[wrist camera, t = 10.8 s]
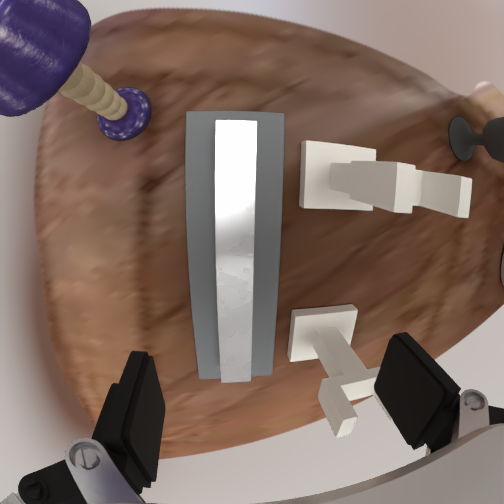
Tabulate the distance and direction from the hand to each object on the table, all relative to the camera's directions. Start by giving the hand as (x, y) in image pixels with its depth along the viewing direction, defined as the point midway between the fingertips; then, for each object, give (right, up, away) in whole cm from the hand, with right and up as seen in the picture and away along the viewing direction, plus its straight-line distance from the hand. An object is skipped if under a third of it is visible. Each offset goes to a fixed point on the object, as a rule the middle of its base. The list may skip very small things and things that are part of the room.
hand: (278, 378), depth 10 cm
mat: (-2, +4, +12) cm, 13 cm away
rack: (+5, +4, +13) cm, 15 cm away
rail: (-2, +4, +10) cm, 11 cm away
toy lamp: (-10, +15, +8) cm, 20 cm away
